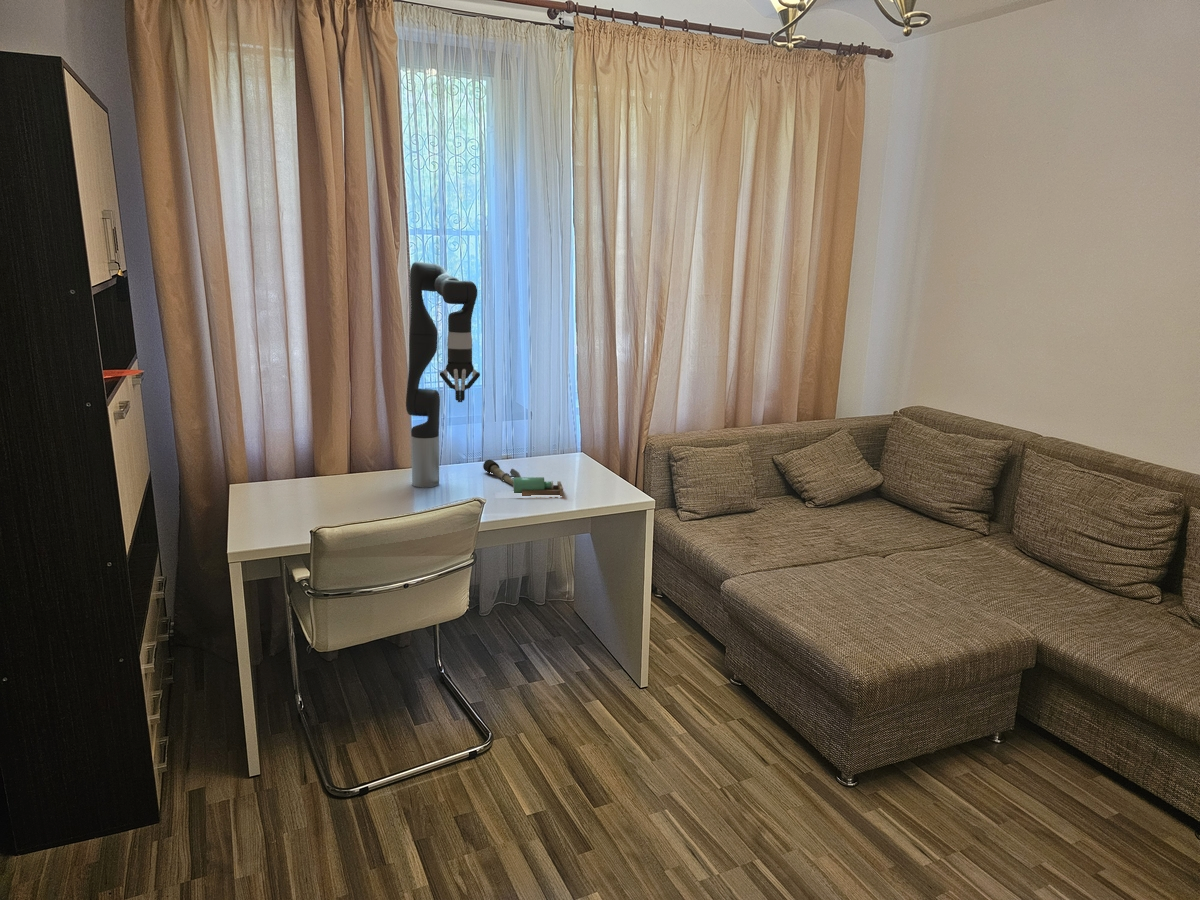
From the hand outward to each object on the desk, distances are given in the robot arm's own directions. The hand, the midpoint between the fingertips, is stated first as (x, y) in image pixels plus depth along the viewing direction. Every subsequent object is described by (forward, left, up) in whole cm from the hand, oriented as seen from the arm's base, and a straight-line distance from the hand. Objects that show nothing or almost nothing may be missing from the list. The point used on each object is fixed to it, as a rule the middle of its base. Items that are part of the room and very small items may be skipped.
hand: (459, 401), depth 257 cm
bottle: (-6, +18, -29) cm, 34 cm away
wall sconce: (-24, +16, -33) cm, 44 cm away
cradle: (-6, +22, -33) cm, 40 cm away
